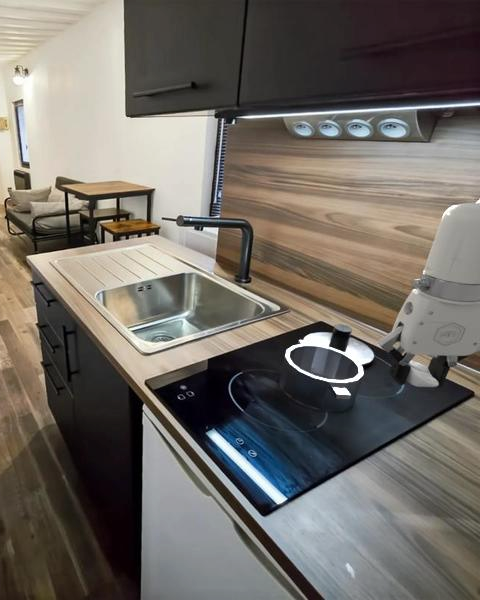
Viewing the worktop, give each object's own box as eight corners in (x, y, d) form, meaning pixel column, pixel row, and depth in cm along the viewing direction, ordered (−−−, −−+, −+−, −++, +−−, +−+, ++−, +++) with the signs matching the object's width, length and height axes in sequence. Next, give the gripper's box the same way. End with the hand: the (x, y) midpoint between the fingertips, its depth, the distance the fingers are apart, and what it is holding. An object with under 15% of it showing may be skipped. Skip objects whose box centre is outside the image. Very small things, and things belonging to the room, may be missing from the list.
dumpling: (384, 372, 68) (392, 352, 66) (414, 377, 67) (422, 358, 66) (411, 390, 61) (421, 369, 60) (445, 397, 60) (455, 375, 59)
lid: (353, 337, 96) (361, 314, 93) (386, 370, 83) (395, 345, 80) (294, 335, 98) (299, 313, 96) (316, 367, 85) (323, 342, 83)
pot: (329, 365, 86) (337, 338, 82) (374, 425, 69) (386, 394, 65) (267, 362, 88) (273, 336, 85) (296, 419, 71) (304, 389, 68)
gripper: (404, 296, 54) (371, 392, 62) (541, 296, 51) (489, 397, 59) (376, 277, 61) (350, 366, 69) (496, 276, 58) (454, 369, 66)
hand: (414, 379), depth 64 cm, fingers closed on dumpling, 4 cm apart
